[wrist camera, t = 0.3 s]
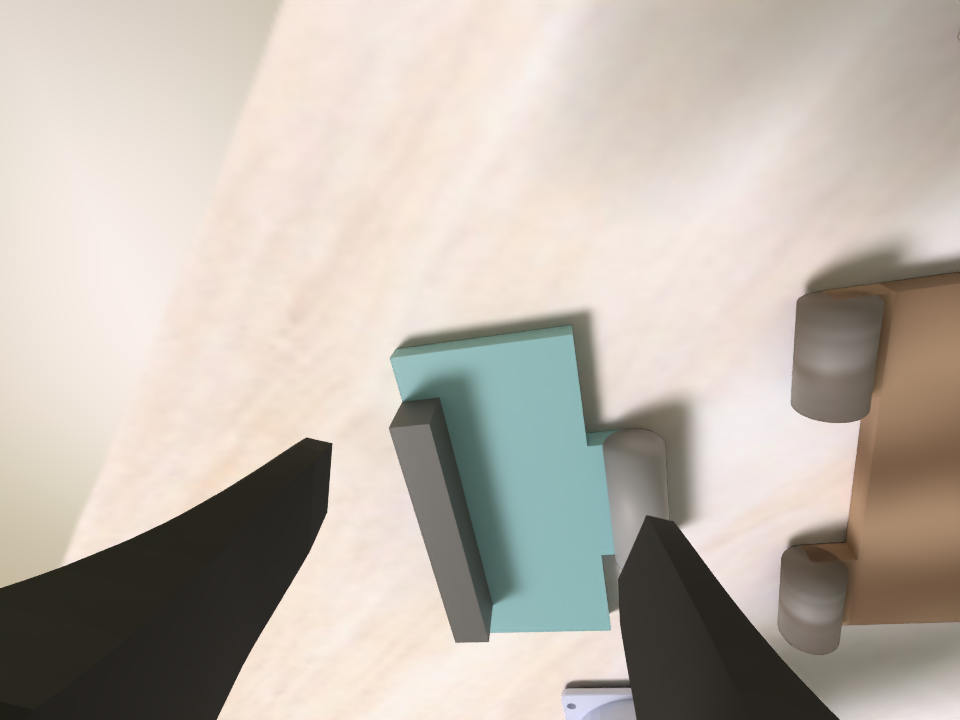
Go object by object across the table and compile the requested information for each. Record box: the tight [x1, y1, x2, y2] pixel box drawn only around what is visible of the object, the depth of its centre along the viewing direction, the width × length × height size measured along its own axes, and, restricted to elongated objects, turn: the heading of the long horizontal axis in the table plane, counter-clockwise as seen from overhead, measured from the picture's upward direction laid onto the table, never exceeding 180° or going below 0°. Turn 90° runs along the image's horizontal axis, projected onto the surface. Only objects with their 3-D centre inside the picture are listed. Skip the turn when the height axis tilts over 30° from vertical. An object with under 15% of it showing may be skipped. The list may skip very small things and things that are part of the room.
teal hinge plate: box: [389, 325, 669, 643], centre depth 22 cm, size 16×10×3 cm, turn 11°
